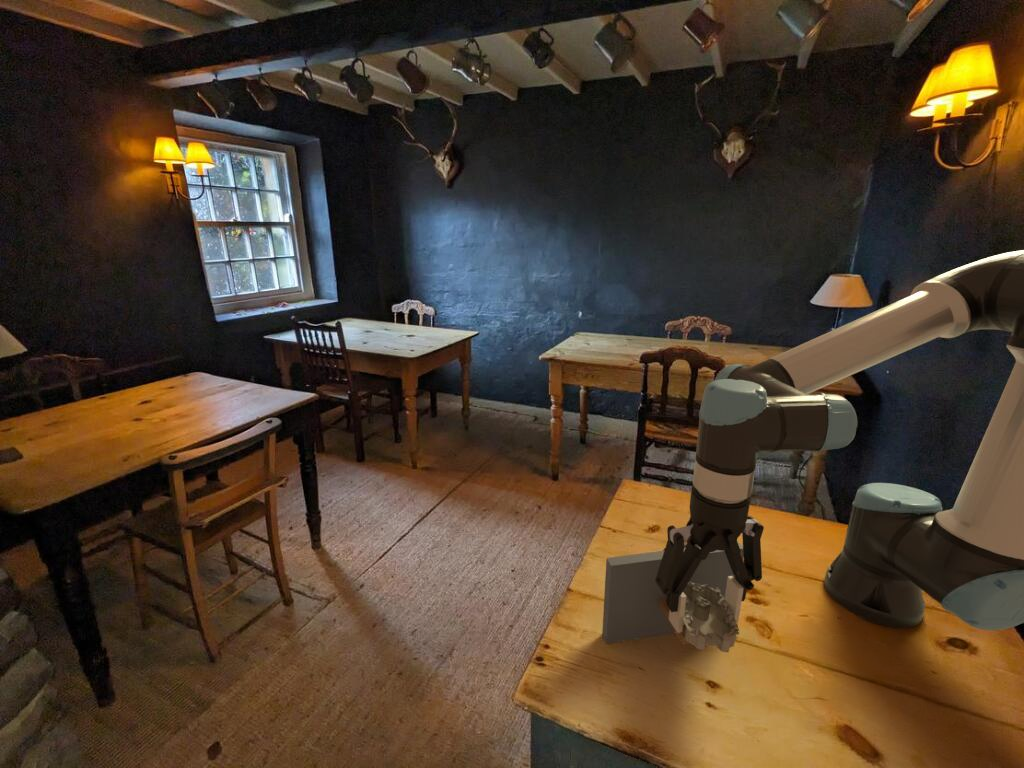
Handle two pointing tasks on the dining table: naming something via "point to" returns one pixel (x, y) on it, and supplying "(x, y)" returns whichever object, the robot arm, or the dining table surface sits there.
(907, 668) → the dining table surface
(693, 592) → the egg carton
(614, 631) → the wall board
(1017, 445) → the robot arm
